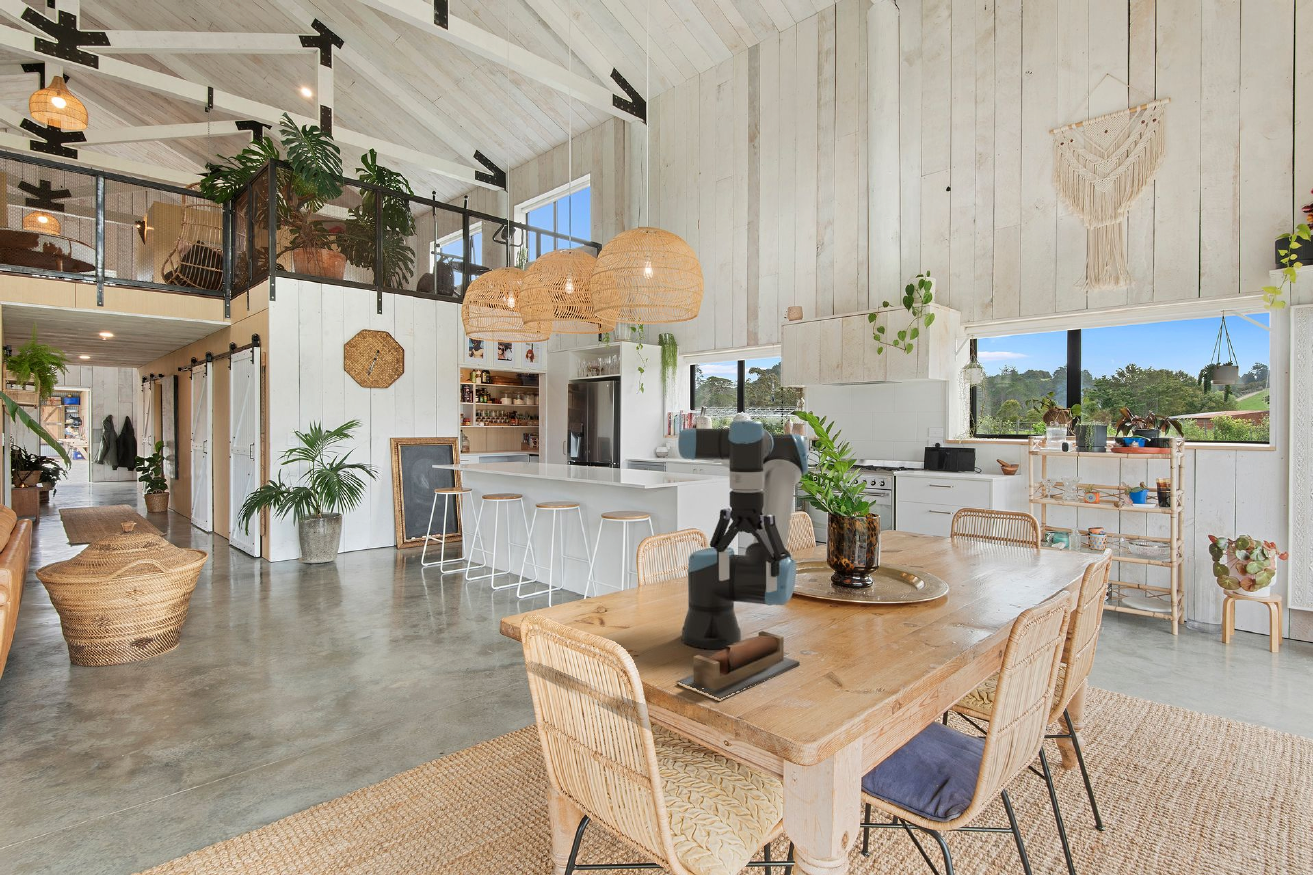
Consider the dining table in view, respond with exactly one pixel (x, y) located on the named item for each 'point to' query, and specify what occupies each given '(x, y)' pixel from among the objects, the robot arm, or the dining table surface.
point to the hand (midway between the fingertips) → (747, 585)
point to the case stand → (738, 671)
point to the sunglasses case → (744, 652)
